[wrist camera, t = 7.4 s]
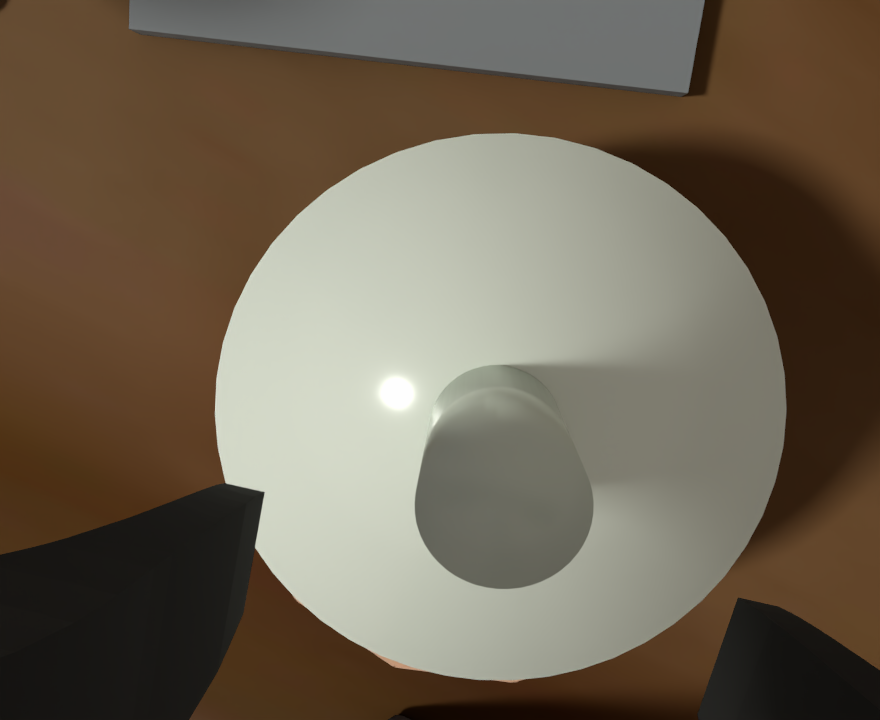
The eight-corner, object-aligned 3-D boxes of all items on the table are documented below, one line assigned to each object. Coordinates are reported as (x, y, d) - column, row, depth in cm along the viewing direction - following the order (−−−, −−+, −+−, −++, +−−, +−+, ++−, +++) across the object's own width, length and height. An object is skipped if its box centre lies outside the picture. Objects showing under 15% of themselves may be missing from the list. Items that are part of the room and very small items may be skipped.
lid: (203, 603, 17) (99, 758, 13) (265, 89, 15) (163, 33, 10) (689, 694, 17) (773, 885, 13) (835, 194, 15) (1015, 190, 10)
